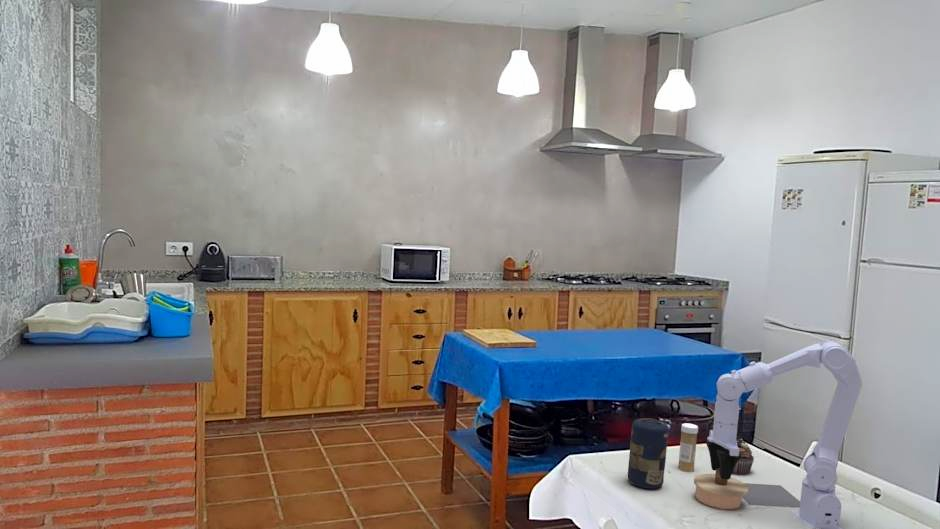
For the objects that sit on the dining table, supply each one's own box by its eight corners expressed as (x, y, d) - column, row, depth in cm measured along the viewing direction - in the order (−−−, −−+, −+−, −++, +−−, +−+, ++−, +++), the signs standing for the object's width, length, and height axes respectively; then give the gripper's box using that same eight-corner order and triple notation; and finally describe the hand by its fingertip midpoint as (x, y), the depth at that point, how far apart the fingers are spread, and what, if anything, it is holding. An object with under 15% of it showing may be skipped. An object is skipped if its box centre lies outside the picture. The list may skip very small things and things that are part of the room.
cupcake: (758, 479, 201) (761, 444, 201) (723, 476, 201) (727, 442, 201) (744, 467, 211) (748, 434, 210) (712, 464, 211) (715, 431, 210)
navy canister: (633, 474, 198) (639, 411, 196) (667, 483, 193) (673, 418, 192) (622, 484, 189) (627, 418, 188) (657, 494, 185) (663, 426, 183)
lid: (757, 497, 175) (758, 480, 175) (705, 495, 174) (707, 478, 174) (734, 477, 188) (735, 461, 188) (686, 475, 187) (687, 459, 187)
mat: (807, 510, 181) (807, 507, 181) (749, 506, 180) (749, 504, 180) (780, 487, 196) (780, 485, 196) (726, 484, 195) (726, 482, 195)
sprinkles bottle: (697, 472, 203) (701, 426, 202) (686, 475, 200) (691, 428, 199) (684, 467, 207) (688, 421, 206) (673, 469, 204) (678, 423, 203)
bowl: (747, 513, 177) (748, 495, 176) (704, 510, 176) (706, 493, 176) (730, 496, 187) (731, 479, 187) (690, 493, 187) (691, 477, 187)
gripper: (700, 412, 187) (695, 463, 188) (720, 429, 173) (715, 484, 174) (726, 414, 188) (721, 464, 189) (749, 431, 173) (744, 485, 174)
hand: (720, 474), depth 181 cm, fingers open, 5 cm apart
